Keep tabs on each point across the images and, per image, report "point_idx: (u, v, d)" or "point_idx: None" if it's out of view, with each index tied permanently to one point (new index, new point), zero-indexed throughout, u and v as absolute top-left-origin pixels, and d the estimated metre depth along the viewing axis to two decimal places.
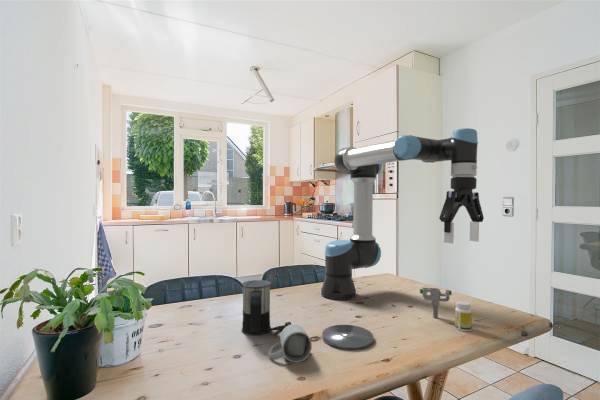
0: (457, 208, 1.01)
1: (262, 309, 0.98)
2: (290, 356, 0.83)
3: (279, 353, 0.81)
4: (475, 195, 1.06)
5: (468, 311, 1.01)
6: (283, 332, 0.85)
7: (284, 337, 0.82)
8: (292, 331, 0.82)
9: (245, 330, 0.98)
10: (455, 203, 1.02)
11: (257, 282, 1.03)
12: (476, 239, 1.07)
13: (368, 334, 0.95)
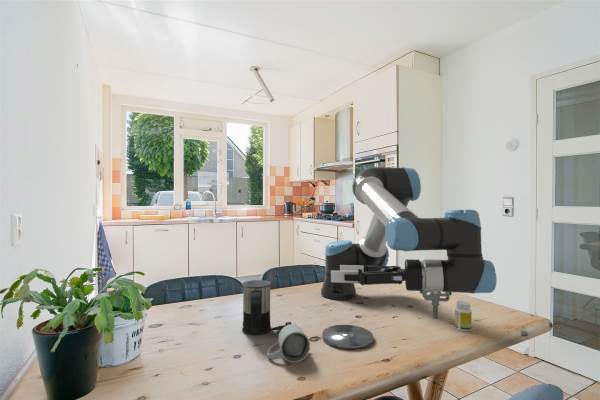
0: None
1: (262, 309, 0.98)
2: (288, 356, 0.83)
3: (277, 353, 0.81)
4: None
5: (468, 311, 1.01)
6: (281, 332, 0.85)
7: (282, 337, 0.82)
8: (290, 331, 0.82)
9: (245, 330, 0.98)
10: None
11: (257, 282, 1.03)
12: None
13: (368, 334, 0.95)
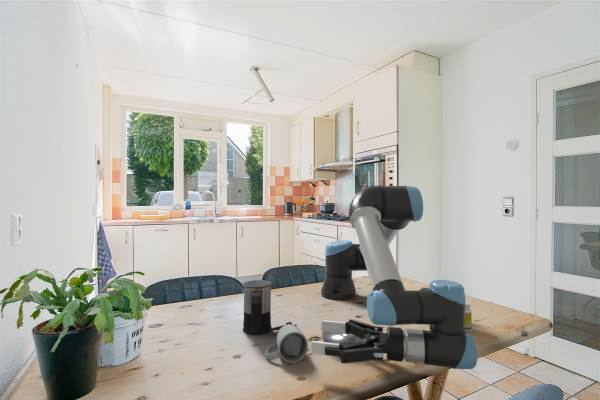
0: None
1: (263, 309, 0.98)
2: (286, 356, 0.83)
3: (275, 353, 0.81)
4: None
5: (468, 311, 1.01)
6: (279, 332, 0.85)
7: (280, 337, 0.82)
8: (288, 331, 0.82)
9: (246, 330, 0.98)
10: (366, 348, 0.75)
11: (258, 282, 1.03)
12: (324, 329, 0.88)
13: None
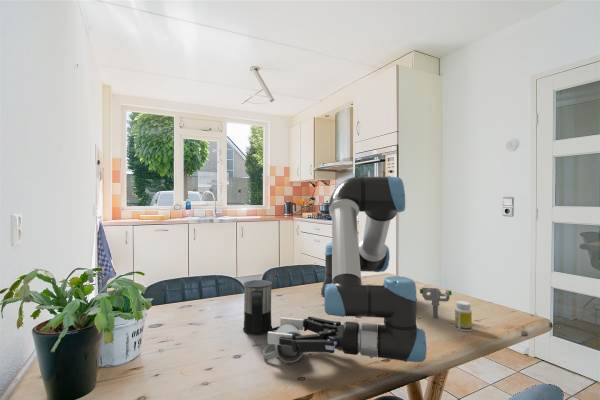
0: None
1: (263, 309, 0.98)
2: (284, 356, 0.83)
3: (273, 353, 0.81)
4: None
5: (468, 311, 1.01)
6: (277, 332, 0.85)
7: None
8: (286, 331, 0.82)
9: (246, 330, 0.99)
10: None
11: (258, 282, 1.03)
12: None
13: None
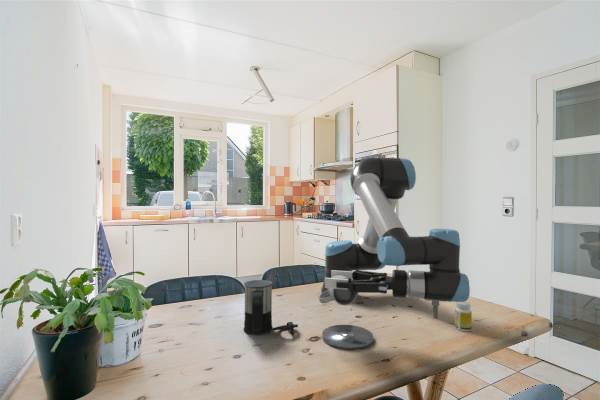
0: None
1: (264, 309, 0.98)
2: (338, 301, 0.93)
3: (329, 297, 0.91)
4: None
5: (468, 311, 1.01)
6: None
7: None
8: (340, 278, 0.92)
9: (247, 329, 0.99)
10: None
11: (259, 282, 1.03)
12: None
13: (368, 334, 0.95)
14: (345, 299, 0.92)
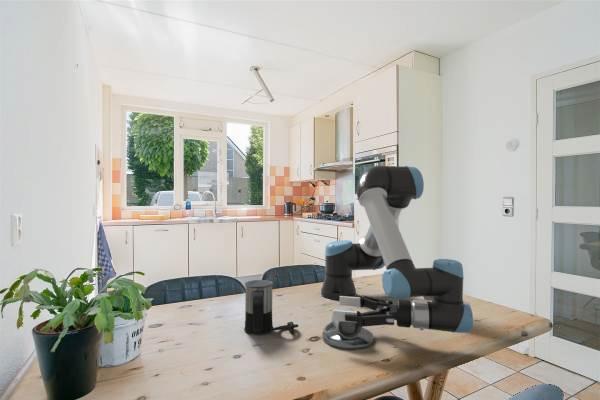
0: None
1: (264, 309, 0.98)
2: (343, 334, 0.94)
3: (334, 331, 0.92)
4: None
5: None
6: None
7: None
8: None
9: (247, 329, 0.99)
10: None
11: (259, 282, 1.03)
12: (341, 304, 1.02)
13: (368, 334, 0.95)
14: (350, 332, 0.93)
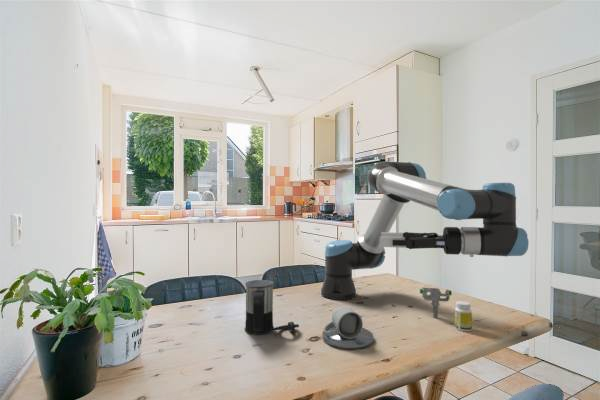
0: None
1: (265, 309, 0.99)
2: (343, 334, 0.94)
3: (334, 331, 0.92)
4: None
5: (468, 311, 1.01)
6: (335, 313, 0.96)
7: (338, 317, 0.93)
8: (345, 311, 0.93)
9: (248, 329, 0.99)
10: None
11: (260, 282, 1.03)
12: None
13: (368, 334, 0.95)
14: (350, 332, 0.93)
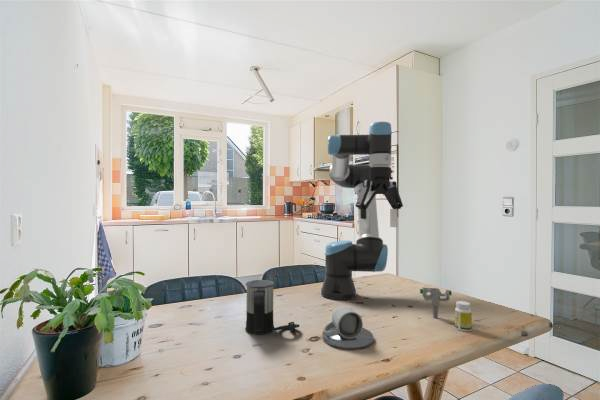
0: (372, 196, 1.08)
1: (265, 309, 0.99)
2: (343, 334, 0.94)
3: (334, 331, 0.92)
4: (393, 184, 1.14)
5: (468, 311, 1.01)
6: (335, 313, 0.96)
7: (338, 317, 0.93)
8: (345, 311, 0.93)
9: (248, 329, 0.99)
10: (371, 191, 1.10)
11: (261, 282, 1.04)
12: (395, 225, 1.14)
13: (368, 334, 0.95)
14: (350, 332, 0.93)
